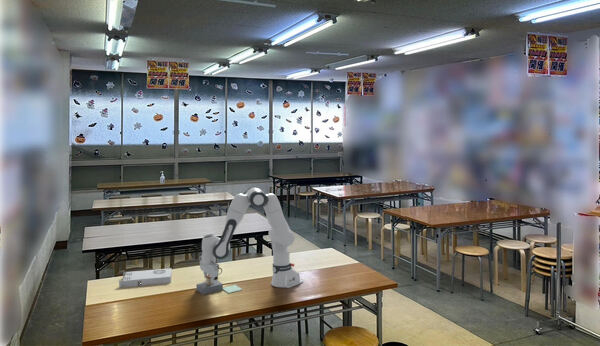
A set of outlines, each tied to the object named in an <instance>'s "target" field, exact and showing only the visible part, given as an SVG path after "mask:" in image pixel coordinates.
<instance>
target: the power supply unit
mask: <svg viewBox="0 0 600 346" xmlns="http://www.w3.org/2000/svg"><path fill="white" fill-rule="evenodd" d="M172 275H173V273H172V268H171V267H170V268H161V269H159V268H157V269H146V270H135V271H123V272H122V279H121V280H119V281H118V285H119V286H118V287H119V288H126V287H127V288H128V287H129V288H130V287H137V286H149V285H150V286H151V285H161V284H172ZM140 283H141V284H140Z"/></svg>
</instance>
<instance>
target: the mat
mask: <svg viewBox="0 0 600 346" xmlns="http://www.w3.org/2000/svg"><path fill="white" fill-rule="evenodd" d="M222 291H224V292H225V293H227V294H232V293H236V292H239V291H243V289H242V288H241V287H239V286H238V285H237V284H234V285H230V286H229V285H228V286H225V287H224V286H223V290H222Z"/></svg>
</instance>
